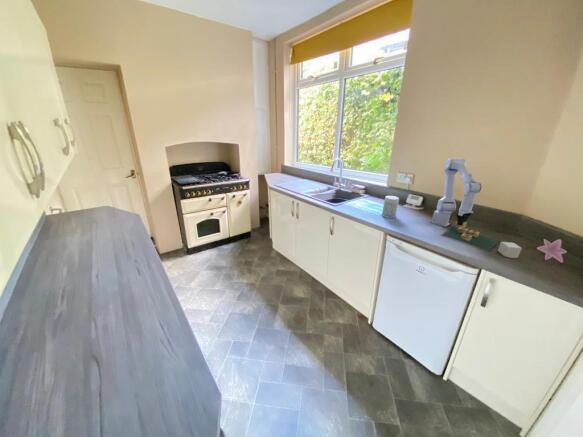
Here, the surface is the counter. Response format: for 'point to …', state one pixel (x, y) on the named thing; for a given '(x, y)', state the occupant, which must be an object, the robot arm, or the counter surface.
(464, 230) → the letter i
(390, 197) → the supplement tub
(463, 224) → the letter s
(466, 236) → the letter o
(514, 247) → the white cube
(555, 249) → the lily
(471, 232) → the letter t
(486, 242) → the word mat
